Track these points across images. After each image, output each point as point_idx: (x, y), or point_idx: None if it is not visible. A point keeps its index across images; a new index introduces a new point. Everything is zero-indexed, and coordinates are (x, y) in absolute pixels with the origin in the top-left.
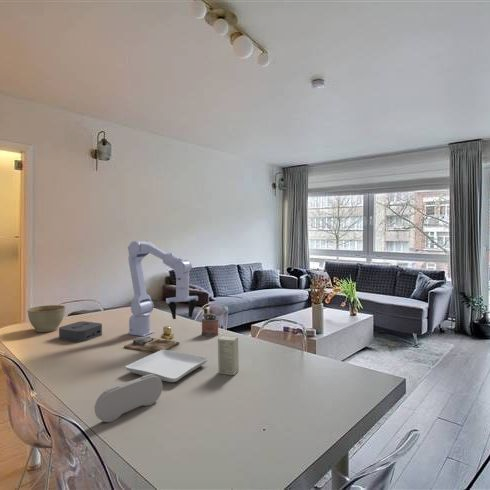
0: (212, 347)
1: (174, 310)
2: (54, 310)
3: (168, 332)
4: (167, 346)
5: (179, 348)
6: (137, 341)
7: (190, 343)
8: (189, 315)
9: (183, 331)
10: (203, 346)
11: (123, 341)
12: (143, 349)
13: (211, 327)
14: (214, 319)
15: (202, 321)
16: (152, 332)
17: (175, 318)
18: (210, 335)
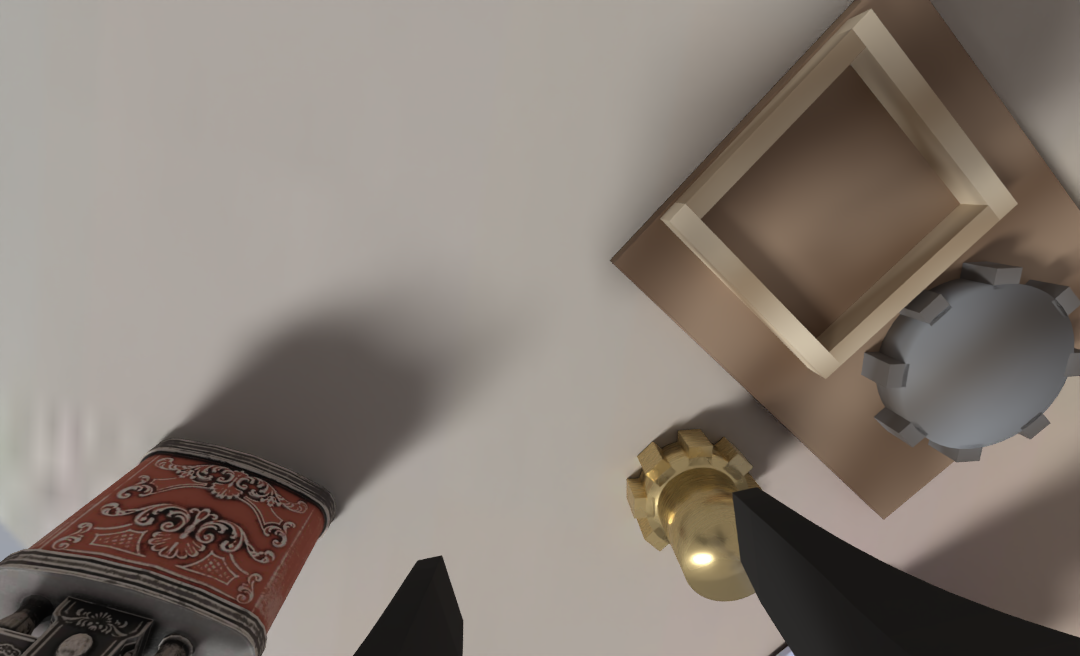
0: (255, 10)
1: (888, 592)
2: None
3: (707, 488)
4: (789, 87)
5: (637, 104)
6: (1066, 300)
7: (492, 247)
8: (450, 610)
9: (500, 640)
10: (361, 89)
11: (1065, 482)
12: (1018, 127)
13: (173, 508)
14: (41, 595)
15: (258, 614)
16: (783, 652)
17: (739, 495)
18: (240, 454)
